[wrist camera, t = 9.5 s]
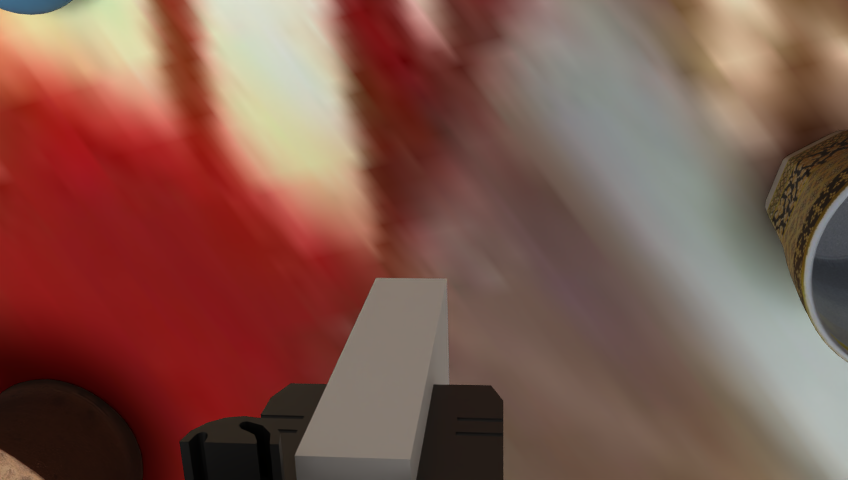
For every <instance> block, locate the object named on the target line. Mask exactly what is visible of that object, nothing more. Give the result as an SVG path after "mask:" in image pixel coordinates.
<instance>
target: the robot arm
mask: <svg viewBox="0 0 848 480" xmlns="http://www.w3.org/2000/svg"><path fill="white" fill-rule="evenodd" d="M179 442H180V449H181V456H182V463H183V470H184V476H185V480H503V400H502V399H501V398H500V396H499V395H498V394H497V393H496V391H495V390H494V389H493V387H492V386H486V385H449V349H448V304H447V279H442V278H376V279H375V281H374V284H373V286H372V288H371V290H370V292H369V294H368V297H367V299H366V301H365V303H364V305H363V308H362V310H361V312H360V314H359V316H358V318H357V321H356V323H355V325H354V327H353V329H352V331H351V334H350V336H349V338H348V340H347V342H346V345H345V347H344V349H343V351H342V353H341V355H340V358H339V360H338V362H337V364H336V366H335V368H334V371H333V373H332V375H331V377H330V379H329V382H328V384H289V385H288V386H287V387H285V388H284V389H282V390H281V391H280V392H278V393H277V394H275V395H274V396H273V397H271V398H270V400H269V402H268V403H267V405H266V407H265V409H264V410H263V412H262V414H261V418H254V417H247V416H241V417H228V418H223V419H219V420H216V421H212V422H208V423H206V424H204V425H202V426H200V427H198V428H196V429H194V430H192V431H190V432H189V433H188V434H187V435H186V436H185V437H184V438H183V439H182V440H181V441H179Z"/></svg>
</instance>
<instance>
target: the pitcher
mask: <svg viewBox="0 0 848 480" xmlns="http://www.w3.org/2000/svg"><path fill="white" fill-rule="evenodd" d="M142 478H143V465H142V457H141V453H140V449H139V446H138V443H137V441H136V438H135V436H134V434H133V433H132V431H131V430H130V428H129V426H128V425H127V423H126V422H125V421H124V419H123V418H122V417H121V416H120V415H119V414H118V413H117V412H116V411H115V410H114V409H112V408H111V407H110V406H109V405H108V404H107V403H106V402H104V401H103V400H102V399H100V398H99V397H97V396H95V395H94V394H93V393H91V392H89V391H87V390H85V389H83V388H81V387H78V386H75V385H72V384H70V383H66V382H63V381H57V380H51V379H50V380H48V379H43V380H31V381H26V382H22V383H18V384H16V385H14V386H11V387H10V388H8V389H6V390H5V391H3V392H2V393H1V394H0V480H142Z"/></svg>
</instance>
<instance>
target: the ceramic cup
mask: <svg viewBox="0 0 848 480" xmlns="http://www.w3.org/2000/svg"><path fill="white" fill-rule="evenodd" d="M765 209H766V211H767V213H768V216H769V218H770V221H771V223H772V225H773V227H774V229H775V231H776V233H777V235H778V237H779V239H780V241H781V243H782V246H783V248H784V252H785V257H786V261H787V265H788V268H789V271H790V275H791V277H792V280H793V282H794V285H795V287H796V290H797V292H798V295H799V297H800V300H801V302H802V304H803V306H804V308H805V310H806V312H807V314H808V316H809V318H810V320H811V322H812V324H813V325H814V327H815V329H816V331H817V332H818V334H819V335H820V337H821V338H822V339H823V341H824V342H825V343H826V344H827V345H828V346H829V347H830V348H831V349H832V350H833V351H834V352H835V353H836V354H837V355H838V356H840V357H841V358H842V359H844V360H845V361H847V362H848V130H847V131H836V132H834V133H832V134H830V135H828V136H826V137H824V138H822V139H820V140H818V141H816V142H814V143H812V144H810V145H808V146H806V147H804V148H802V149H800V150H798V151H796V152H794V153H792V154H790V155H788V156H787V157H785V158H784V159H783V161H782V163H781V165H780V168H779V170H778V172H777V175H776V177H775V180H774V182H773V185H772V187H771V189H770V192H769V194H768V197H767V199H766V203H765Z"/></svg>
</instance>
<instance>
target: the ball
mask: <svg viewBox="0 0 848 480" xmlns="http://www.w3.org/2000/svg"><path fill="white" fill-rule="evenodd" d="M71 1H72V0H0V8H1V9H3V10H6V11H10V12H14V13H18V14H30V15H33V14H43V13H48V12H51V11H54V10H57V9H59V8H62V7H63V6H65V5H67V4H68V3H69V2H71Z"/></svg>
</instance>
